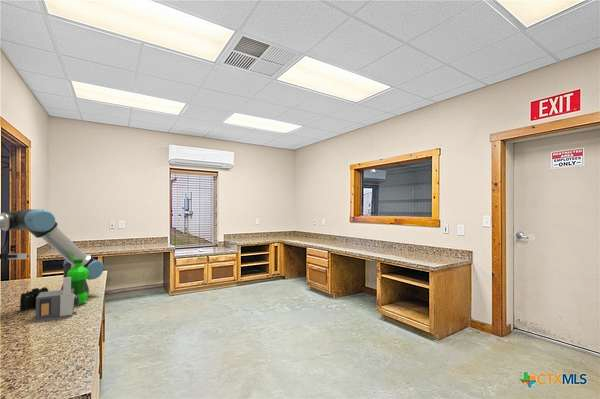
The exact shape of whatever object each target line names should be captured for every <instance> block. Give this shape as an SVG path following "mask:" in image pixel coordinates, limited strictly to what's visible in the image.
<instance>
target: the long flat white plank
mask: <svg viewBox="0 0 600 399" xmlns="http://www.w3.org/2000/svg"><path fill="white" fill-rule="evenodd" d="M62 285H63V295H61V296H60V316H65V315H72V316H73V314H74V310H73V294H71V277H66V278H63V280H62Z"/></svg>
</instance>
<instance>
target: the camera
mask: <svg viewBox="0 0 600 399" xmlns="http://www.w3.org/2000/svg"><path fill="white" fill-rule="evenodd" d="M48 291H49V289H48V287H46V286H43V287H42V288H38V287H34V288H32V289H31V290H30V291H29V290H27V291H26V292H24V293H21V294H20V301H19V312H25V311H28V310H29V311H30V310H31V309H36V298H37V296H38V295H39V294H40V292H48Z"/></svg>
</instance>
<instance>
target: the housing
mask: <svg viewBox="0 0 600 399" xmlns="http://www.w3.org/2000/svg"><path fill="white" fill-rule="evenodd" d="M71 294H73V311H74V309H75V307H76V306H80V305H79V295H77V296H75V294H74V289H71ZM61 295H63V290H61V289H59V290H48V292H40V294H39V295H38V296H37V298H36V308H35V323H36V322H37V323H39V322H45V321H50V320H57V319H63V318H65V319H66V318H71V317H72V316H73V314H72V315H65V316H60V296H61Z"/></svg>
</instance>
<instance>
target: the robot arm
mask: <svg viewBox="0 0 600 399" xmlns="http://www.w3.org/2000/svg"><path fill="white" fill-rule="evenodd" d="M58 225H59V223H58V222H57V221H56V217H55V215H54V214H53V212H51V211H49V210H46V209H42V208H35V209H34V208H33V209H30V208H29V209H26V208H25V209H20V210H15V211H9V212H8V211H7V212H1V213H0V230H2V231H3V232H6V231H27V232H30V234H32V236H34V238H36V239H42V240H43V241H45V243H46V244H48V245H49V246H50V247H51V248H52V249H53V250H55V251H56V252H57V253H58V254H59V255H60V256H62V258H64V260H63V264H62V266H63V275H62V276H63V278H66V277H67V273H68V271H69V270H70V269H71V268H73V267H74V266H75V263H74V260H75V259H83V263H82V266H84V267H85V268H87V269H88V271H89V276H88V278H87V279H86V280H89V281H90V280H96V279H98V278H99V277H101V276H102V274H103V272H104V268H105V265H104V263H103V262H102V261H101V260H98V259H95V258H94V257H93V256H92V255H91V254H90V253H86V254H85V253H84V252H83V250H82V249H81V248H80V247H78V246H77V244H75V243H74V242H73V240H71V239H70V238H69V237H68V236H67V235H66V234H65V233H64V232H63V231H61V229H59V228H58ZM27 258H28V253H27V252H26V253H24V252H23V253H20V252H19V253H15V252H14V253H10V252H9V251H8V252H7V251H6V253H4V252H3V253H0V260H2V261H5V262H7V261H8V260H27ZM60 290H63V284H61V288H60ZM86 292H87V294H88V293H89V292H90V288H89V285H88V282H87V281H86Z"/></svg>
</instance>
